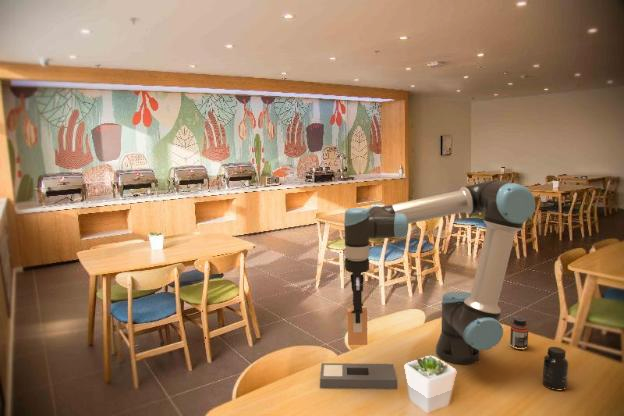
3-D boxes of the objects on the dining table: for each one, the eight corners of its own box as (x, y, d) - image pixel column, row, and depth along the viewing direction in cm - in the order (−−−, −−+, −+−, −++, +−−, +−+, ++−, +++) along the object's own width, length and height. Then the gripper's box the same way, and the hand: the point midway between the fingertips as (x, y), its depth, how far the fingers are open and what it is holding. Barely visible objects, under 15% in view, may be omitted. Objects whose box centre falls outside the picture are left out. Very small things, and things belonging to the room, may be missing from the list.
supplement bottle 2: (570, 392, 136) (572, 356, 135) (546, 390, 138) (548, 354, 136) (562, 380, 143) (564, 345, 141) (539, 378, 144) (541, 344, 143)
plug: (366, 340, 144) (366, 307, 142) (367, 345, 140) (367, 311, 139) (348, 339, 144) (347, 307, 143) (348, 344, 141) (347, 311, 139)
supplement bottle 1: (511, 342, 170) (513, 314, 168) (528, 346, 167) (530, 317, 165) (508, 348, 165) (509, 319, 164) (525, 352, 162) (527, 323, 160)
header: (393, 375, 149) (393, 363, 148) (396, 391, 139) (397, 379, 138) (321, 374, 150) (321, 362, 150) (320, 390, 140) (320, 378, 140)
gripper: (344, 251, 146) (345, 318, 150) (345, 265, 130) (346, 340, 134) (367, 251, 146) (367, 318, 150) (370, 265, 130) (371, 340, 133)
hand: (357, 328), depth 142 cm, fingers closed on plug, 3 cm apart
